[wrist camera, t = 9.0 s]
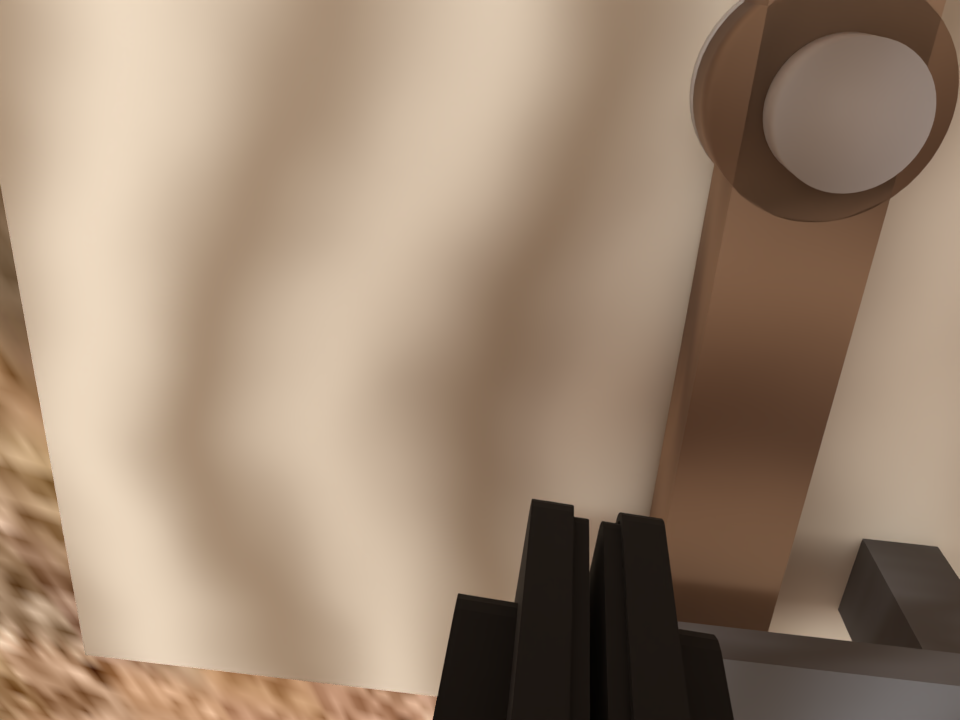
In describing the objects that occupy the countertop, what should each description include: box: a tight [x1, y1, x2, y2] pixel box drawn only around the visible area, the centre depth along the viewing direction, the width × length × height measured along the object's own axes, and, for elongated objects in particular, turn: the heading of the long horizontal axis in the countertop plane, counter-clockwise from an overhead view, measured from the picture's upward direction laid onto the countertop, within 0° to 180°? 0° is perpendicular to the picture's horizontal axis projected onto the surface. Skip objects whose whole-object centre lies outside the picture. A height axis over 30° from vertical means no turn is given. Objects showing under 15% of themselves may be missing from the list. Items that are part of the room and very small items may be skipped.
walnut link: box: [649, 0, 959, 632], centre depth 19 cm, size 19×4×2 cm, turn 177°
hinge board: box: [0, 0, 960, 720], centre depth 19 cm, size 26×25×6 cm
